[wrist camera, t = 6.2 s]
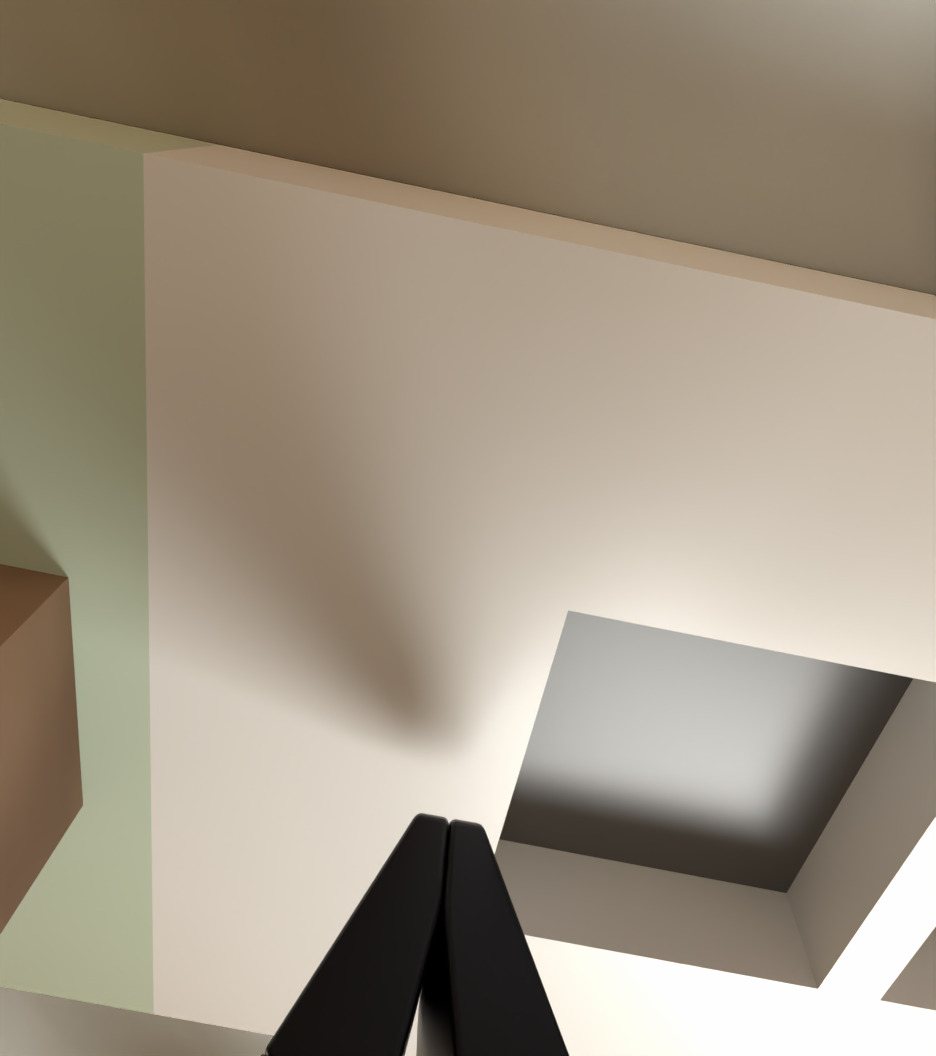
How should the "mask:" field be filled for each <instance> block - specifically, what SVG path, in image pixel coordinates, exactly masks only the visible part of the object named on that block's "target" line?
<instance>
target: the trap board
mask: <svg viewBox="0 0 936 1056" xmlns="http://www.w3.org/2000/svg"><path fill="white" fill-rule="evenodd" d="M0 564H3V565H8V566H13V567H18V568H23V569H29V570H34V571H39V572H44V573H49V574H54V575H59V576H64V577H68V578H69V593H70V609H71V624H72V639H73V655H74V670H75V686H76V701H77V717H78V732H79V748H80V763H81V779H82V794H83V806H82V808H81V809H80V811H79V812H78V814H77V816H76V817H75V819H74V820H73V822H72V823H71V825H70V827H69V828H68V830H67V831H66V833H65V834H64V836H63V837H62V839H61V841H60V842H59V844H58V845H57V847H56V848H55V850H54V852H53V853H52V855H51V856H50V858H49V859H48V861H47V862H46V864H45V866H44V867H43V869H42V870H41V872H40V873H39V875H38V876H37V878H36V880H35V881H34V883H33V884H32V886H31V887H30V889H29V891H28V892H27V894H26V895H25V897H24V898H23V900H22V901H21V903H20V905H19V906H18V908H17V909H16V911H15V912H14V914H13V915H12V917H11V919H10V920H9V922H8V923H7V925H6V926H5V928H4V930H3V931H2V933H1V934H0V987H3V988H9V989H14V990H20V991H25V992H31V993H37V994H42V995H48V996H53V997H59V998H65V999H70V1000H76V1001H81V1002H87V1003H92V1004H98V1005H104V1006H109V1007H115V1008H120V1009H126V1010H132V1011H137V1012H143V1013H148V1014H154V1015H160V1016H165V1017H171V1018H176V1019H182V1020H188V1021H193V1022H199V1023H204V1024H210V1025H215V1026H221V1027H227V1028H232V1029H238V1030H243V1031H249V1032H255V1033H260V1034H266V1035H271V1036H274V1035H275V1033H276V1031H277V1030H278V1028H279V1027H280V1025H281V1024H282V1022H283V1021H284V1019H285V1017H286V1016H287V1014H288V1013H289V1011H290V1010H291V1008H292V1006H293V1005H294V1003H295V1002H296V1000H297V999H298V997H299V996H300V994H301V992H302V991H303V989H304V988H305V986H306V985H307V983H308V982H309V980H310V978H311V977H312V975H313V974H314V972H315V971H316V969H317V968H318V966H319V964H320V963H321V961H322V960H323V958H324V957H325V955H326V953H327V952H328V950H329V949H330V947H331V946H332V944H333V943H334V941H335V939H336V938H337V936H338V935H339V933H340V932H341V930H342V929H343V927H344V925H345V924H346V922H347V921H348V919H349V918H350V916H351V915H352V913H353V911H354V910H355V908H356V907H357V905H358V904H359V902H360V900H361V899H362V897H363V896H364V894H365V893H366V891H367V890H368V888H369V886H370V885H371V883H372V882H373V880H374V879H375V877H376V876H377V874H378V872H379V871H380V869H381V868H382V866H383V865H384V863H385V862H386V860H387V858H388V857H389V855H390V854H391V852H392V851H393V849H394V847H395V846H396V844H397V843H398V841H399V840H400V838H401V837H402V835H403V833H404V832H405V830H406V829H407V827H408V826H409V824H410V823H411V821H412V819H413V818H414V817H415V816H416V815H417V814H419V813H425V814H431V815H436V816H442V817H445V818H446V819H448V822H449V823H450V821H451V820H454V819H459V820H464V821H470V822H475V823H479V824H481V825H482V826H483V827H484V829H485V831H486V834H487V836H488V839H489V842H490V844H491V847H492V850H493V852H494V855H495V858H496V860H497V863H498V866H499V868H500V871H501V874H502V876H503V879H504V882H505V884H506V887H507V890H508V893H509V895H510V898H511V901H512V903H513V906H514V909H515V911H516V914H517V917H518V919H519V922H520V925H521V927H522V930H523V933H524V935H525V938H526V941H527V943H528V946H529V949H530V951H531V954H532V957H533V959H534V962H535V965H536V967H537V970H538V973H539V975H540V978H541V981H542V983H543V986H544V989H545V991H546V994H547V997H548V1000H549V1002H550V1005H551V1008H552V1010H553V1013H554V1016H555V1018H556V1021H557V1024H558V1026H559V1029H560V1032H561V1034H562V1037H563V1040H564V1042H565V1045H566V1048H567V1050H568V1053H569V1056H936V295H931V294H927V293H922V292H917V291H912V290H908V289H903V288H898V287H893V286H889V285H884V284H879V283H874V282H870V281H865V280H860V279H855V278H851V277H846V276H841V275H836V274H832V273H827V272H822V271H817V270H813V269H808V268H803V267H798V266H793V265H789V264H784V263H779V262H774V261H770V260H765V259H760V258H755V257H751V256H746V255H741V254H736V253H732V252H727V251H722V250H717V249H713V248H708V247H703V246H698V245H694V244H689V243H684V242H679V241H675V240H670V239H665V238H660V237H656V236H651V235H646V234H641V233H637V232H632V231H627V230H622V229H618V228H613V227H608V226H603V225H599V224H594V223H589V222H584V221H579V220H575V219H570V218H565V217H560V216H556V215H551V214H546V213H541V212H537V211H532V210H527V209H522V208H518V207H513V206H508V205H503V204H499V203H494V202H489V201H484V200H480V199H475V198H470V197H465V196H461V195H456V194H451V193H446V192H442V191H437V190H432V189H427V188H423V187H418V186H413V185H408V184H404V183H399V182H394V181H389V180H385V179H380V178H375V177H370V176H365V175H361V174H356V173H351V172H346V171H342V170H337V169H332V168H327V167H323V166H318V165H313V164H308V163H304V162H299V161H294V160H289V159H285V158H280V157H275V156H270V155H266V154H261V153H256V152H251V151H247V150H242V149H237V148H232V147H228V146H223V145H218V144H213V143H209V142H204V141H199V140H194V139H190V138H185V137H180V136H175V135H171V134H166V133H161V132H156V131H151V130H147V129H142V128H137V127H132V126H128V125H123V124H118V123H113V122H109V121H104V120H99V119H94V118H90V117H85V116H80V115H75V114H71V113H66V112H61V111H56V110H52V109H47V108H42V107H37V106H33V105H28V104H23V103H18V102H14V101H9V100H4V99H0ZM419 999H420V998H419ZM418 1008H419V1002H418V1006H417V1010H416V1014H415V1018H414V1022H413V1026H412V1030H411V1033H410V1037H409V1041H408V1045H407V1049H406V1053H405V1056H416V1050H417V1024H418Z"/></svg>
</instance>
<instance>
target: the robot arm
mask: <svg viewBox="0 0 936 1056" xmlns="http://www.w3.org/2000/svg"><path fill="white" fill-rule="evenodd" d="M419 998H420V999H419ZM418 1002H419V1008H418V1024H417V1050H416V1056H569V1053H568V1050H567V1048H566V1045H565V1042H564V1040H563V1037H562V1034H561V1032H560V1029H559V1026H558V1024H557V1021H556V1018H555V1016H554V1013H553V1010H552V1008H551V1005H550V1002H549V1000H548V997H547V994H546V991H545V989H544V986H543V983H542V981H541V978H540V975H539V973H538V970H537V967H536V965H535V962H534V959H533V957H532V954H531V951H530V949H529V946H528V943H527V941H526V938H525V935H524V933H523V930H522V927H521V925H520V922H519V919H518V917H517V914H516V911H515V909H514V906H513V903H512V901H511V898H510V895H509V893H508V890H507V887H506V884H505V882H504V879H503V876H502V874H501V871H500V868H499V866H498V863H497V860H496V858H495V855H494V852H493V850H492V847H491V844H490V842H489V839H488V836H487V834H486V831H485V829H484V827H483V826H482V825H481V824H479V823H475V822H470V821H464V820H459V819H454V820H451V821H450V823H449V822H448V819H446V818H445V817H442V816H436V815H431V814H425V813H419V814H417V815H416V816H415V817H414V818H413V819H412V821H411V823H410V824H409V826H408V827H407V829H406V830H405V832H404V833H403V835H402V837H401V838H400V840H399V841H398V843H397V844H396V846H395V847H394V849H393V851H392V852H391V854H390V855H389V857H388V858H387V860H386V862H385V863H384V865H383V866H382V868H381V869H380V871H379V872H378V874H377V876H376V877H375V879H374V880H373V882H372V883H371V885H370V886H369V888H368V890H367V891H366V893H365V894H364V896H363V897H362V899H361V900H360V902H359V904H358V905H357V907H356V908H355V910H354V911H353V913H352V915H351V916H350V918H349V919H348V921H347V922H346V924H345V925H344V927H343V929H342V930H341V932H340V933H339V935H338V936H337V938H336V939H335V941H334V943H333V944H332V946H331V947H330V949H329V950H328V952H327V953H326V955H325V957H324V958H323V960H322V961H321V963H320V964H319V966H318V968H317V969H316V971H315V972H314V974H313V975H312V977H311V978H310V980H309V982H308V983H307V985H306V986H305V988H304V989H303V991H302V992H301V994H300V996H299V997H298V999H297V1000H296V1002H295V1003H294V1005H293V1006H292V1008H291V1010H290V1011H289V1013H288V1014H287V1016H286V1017H285V1019H284V1021H283V1022H282V1024H281V1025H280V1027H279V1028H278V1030H277V1031H276V1033H275V1035H274V1036H273V1038H272V1039H271V1041H270V1042H269V1044H268V1045H267V1047H266V1050H265V1054H262V1055H261V1056H405V1053H406V1049H407V1045H408V1041H409V1037H410V1033H411V1030H412V1026H413V1022H414V1018H415V1014H416V1010H417V1006H418Z"/></svg>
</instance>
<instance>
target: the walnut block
mask: <svg viewBox="0 0 936 1056" xmlns="http://www.w3.org/2000/svg"><path fill="white" fill-rule="evenodd" d="M82 806H83V794H82V779H81V763H80V748H79V732H78V717H77V701H76V686H75V670H74V655H73V639H72V624H71V609H70V593H69V578H68V577H64V576H59V575H54V574H49V573H44V572H39V571H34V570H29V569H23V568H18V567H13V566H8V565H3V564H0V934H1V933H2V931H3V930H4V928H5V926H6V925H7V923H8V922H9V920H10V919H11V917H12V915H13V914H14V912H15V911H16V909H17V908H18V906H19V905H20V903H21V901H22V900H23V898H24V897H25V895H26V894H27V892H28V891H29V889H30V887H31V886H32V884H33V883H34V881H35V880H36V878H37V876H38V875H39V873H40V872H41V870H42V869H43V867H44V866H45V864H46V862H47V861H48V859H49V858H50V856H51V855H52V853H53V852H54V850H55V848H56V847H57V845H58V844H59V842H60V841H61V839H62V837H63V836H64V834H65V833H66V831H67V830H68V828H69V827H70V825H71V823H72V822H73V820H74V819H75V817H76V816H77V814H78V812H79V811H80V809H81V808H82Z"/></svg>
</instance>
